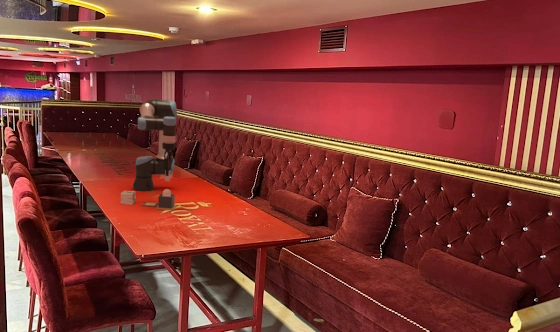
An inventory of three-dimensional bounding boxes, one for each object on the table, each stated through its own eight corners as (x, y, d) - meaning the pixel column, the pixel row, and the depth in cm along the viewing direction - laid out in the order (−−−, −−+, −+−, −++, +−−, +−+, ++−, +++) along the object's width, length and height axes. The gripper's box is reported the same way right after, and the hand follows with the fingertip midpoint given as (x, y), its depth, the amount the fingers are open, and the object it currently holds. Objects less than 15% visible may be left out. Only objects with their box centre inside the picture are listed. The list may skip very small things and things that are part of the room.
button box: (160, 205, 295) (160, 193, 294) (176, 206, 295) (176, 194, 294) (156, 209, 285) (156, 196, 284) (172, 210, 285) (173, 197, 284)
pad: (145, 202, 299) (145, 201, 299) (159, 203, 299) (159, 202, 299) (141, 205, 290) (141, 205, 290) (155, 206, 290) (155, 206, 290)
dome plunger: (163, 203, 292) (163, 187, 291) (171, 203, 292) (172, 188, 291) (161, 205, 287) (161, 189, 286) (169, 205, 287) (170, 190, 286)
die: (124, 201, 297) (124, 190, 296) (135, 202, 298) (135, 191, 296) (120, 204, 291) (120, 192, 289) (131, 204, 291) (132, 193, 290)
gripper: (165, 140, 290) (163, 178, 294) (159, 143, 277) (158, 182, 281) (177, 141, 290) (175, 179, 294) (172, 144, 277) (171, 183, 281)
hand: (167, 180), depth 288 cm, fingers closed
